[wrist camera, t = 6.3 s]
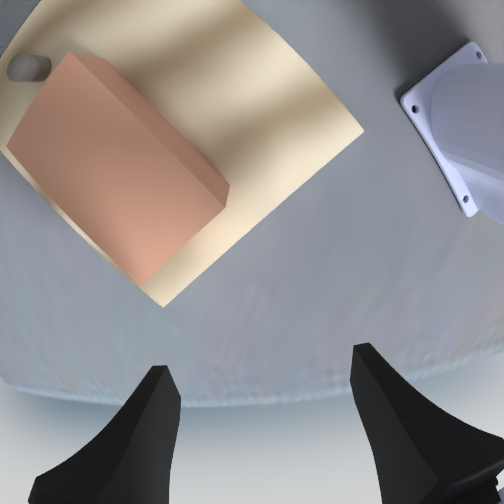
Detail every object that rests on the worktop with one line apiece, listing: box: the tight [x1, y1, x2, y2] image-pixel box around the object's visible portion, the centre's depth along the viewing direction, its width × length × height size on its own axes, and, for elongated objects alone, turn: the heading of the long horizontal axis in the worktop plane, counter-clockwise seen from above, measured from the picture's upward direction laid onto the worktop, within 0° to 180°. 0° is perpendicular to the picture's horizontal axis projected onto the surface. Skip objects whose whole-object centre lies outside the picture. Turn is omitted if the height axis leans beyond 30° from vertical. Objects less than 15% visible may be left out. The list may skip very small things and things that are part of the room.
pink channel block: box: [6, 51, 230, 286], centre depth 14 cm, size 10×6×4 cm, turn 42°
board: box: [0, 0, 364, 307], centre depth 14 cm, size 20×16×3 cm
